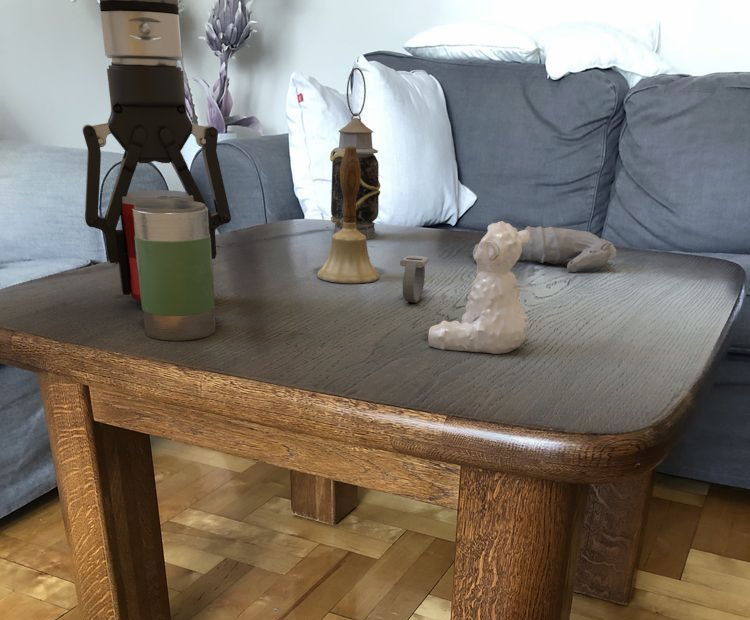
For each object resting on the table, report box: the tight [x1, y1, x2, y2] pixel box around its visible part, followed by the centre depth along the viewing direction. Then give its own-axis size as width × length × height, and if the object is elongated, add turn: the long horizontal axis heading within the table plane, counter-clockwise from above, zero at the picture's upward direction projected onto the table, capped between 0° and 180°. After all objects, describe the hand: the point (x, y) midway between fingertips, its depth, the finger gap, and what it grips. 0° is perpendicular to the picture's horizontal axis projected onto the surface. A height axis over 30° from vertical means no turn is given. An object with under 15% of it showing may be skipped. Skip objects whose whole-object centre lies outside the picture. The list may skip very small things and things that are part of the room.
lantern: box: [329, 67, 381, 241], centre depth 131 cm, size 9×8×25 cm
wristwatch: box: [399, 255, 430, 304], centre depth 96 cm, size 6×3×5 cm, turn 164°
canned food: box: [120, 189, 194, 303], centre depth 91 cm, size 8×8×11 cm
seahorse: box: [472, 225, 617, 273], centre depth 118 cm, size 5×12×20 cm
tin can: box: [133, 200, 216, 342], centre depth 81 cm, size 7×7×12 cm
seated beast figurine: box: [427, 220, 530, 355], centre depth 79 cm, size 10×9×12 cm
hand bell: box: [316, 146, 381, 285], centre depth 105 cm, size 8×8×16 cm
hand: (165, 289), depth 93 cm, fingers closed on canned food, 8 cm apart
